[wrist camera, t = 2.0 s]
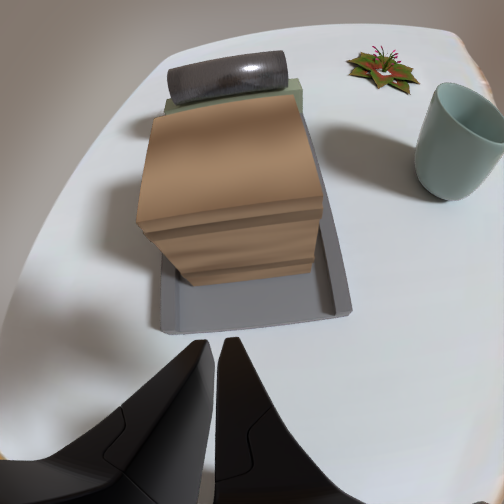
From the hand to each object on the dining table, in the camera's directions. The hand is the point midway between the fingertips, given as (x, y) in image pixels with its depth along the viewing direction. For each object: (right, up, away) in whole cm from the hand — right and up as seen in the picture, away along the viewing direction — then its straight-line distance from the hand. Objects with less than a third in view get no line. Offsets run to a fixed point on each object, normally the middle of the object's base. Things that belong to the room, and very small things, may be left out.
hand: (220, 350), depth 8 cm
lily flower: (+20, +29, +26) cm, 44 cm away
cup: (+20, +10, +17) cm, 29 cm away
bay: (0, +8, +18) cm, 20 cm away
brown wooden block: (+1, +4, +16) cm, 16 cm away
